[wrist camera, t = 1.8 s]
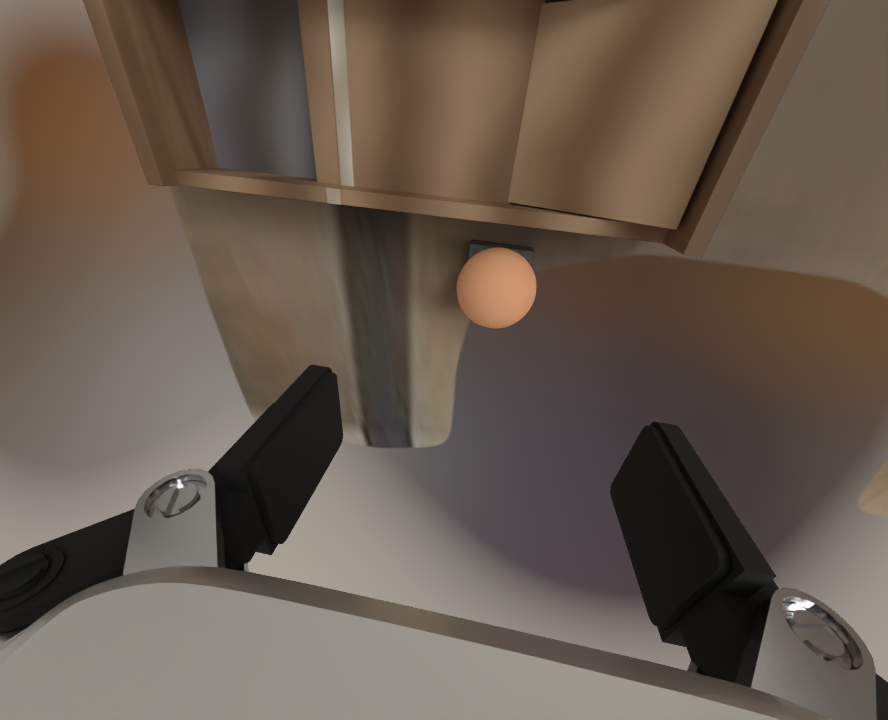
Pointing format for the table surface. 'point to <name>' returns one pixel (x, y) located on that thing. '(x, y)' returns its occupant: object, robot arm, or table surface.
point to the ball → (496, 287)
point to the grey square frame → (481, 245)
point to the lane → (461, 103)
